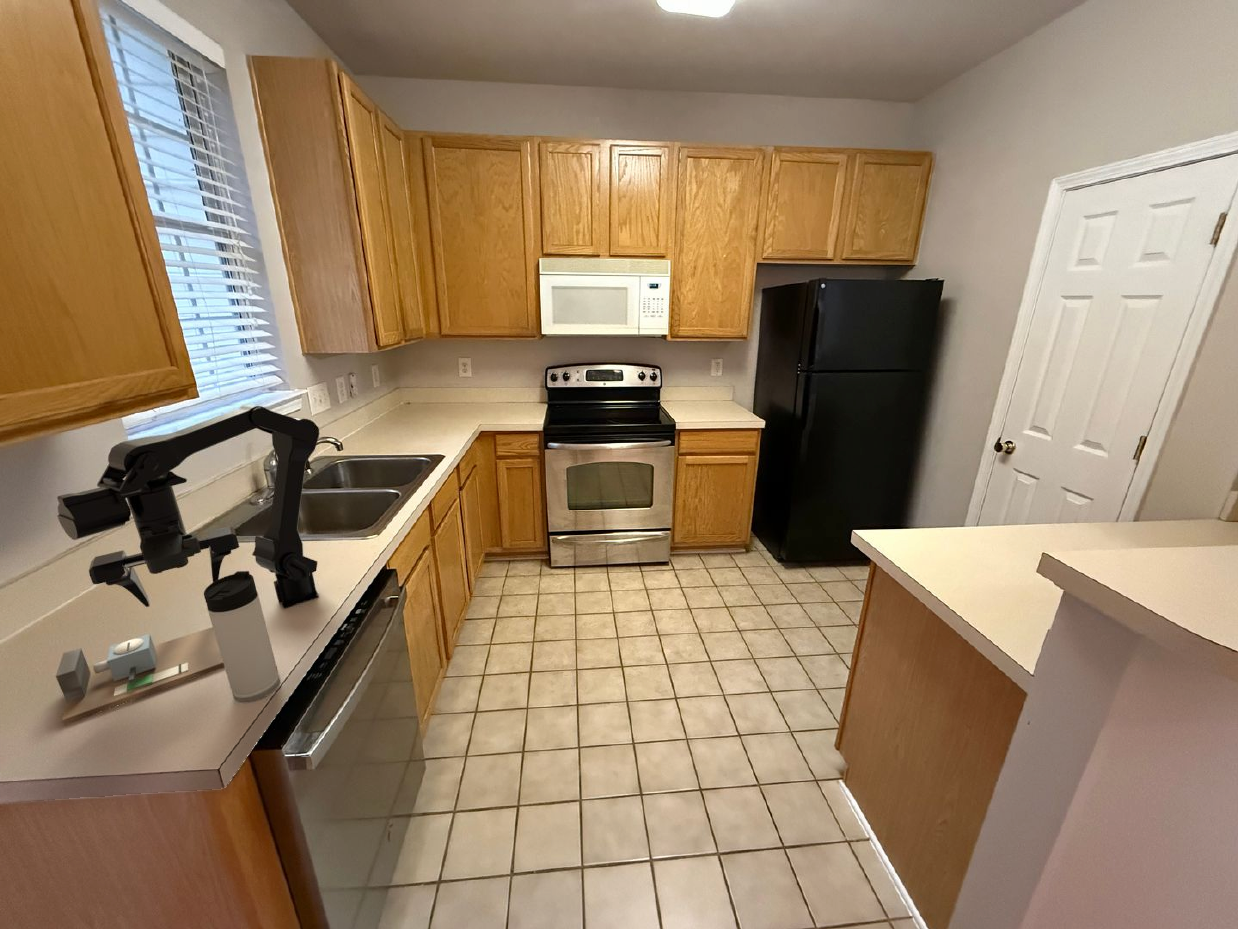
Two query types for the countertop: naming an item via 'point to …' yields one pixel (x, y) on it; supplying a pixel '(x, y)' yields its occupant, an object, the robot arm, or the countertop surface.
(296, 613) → the countertop surface
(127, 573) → the robot arm
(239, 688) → the travel mug
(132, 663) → the force gauge
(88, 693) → the gauge board
